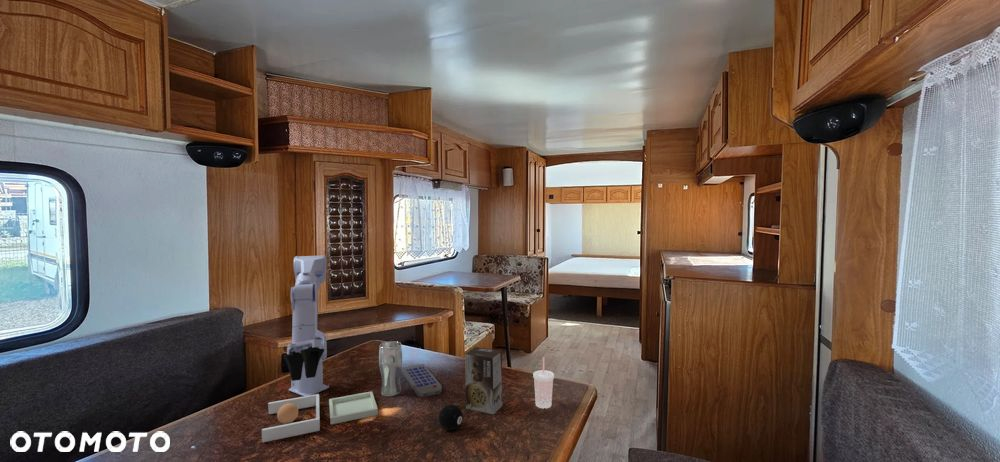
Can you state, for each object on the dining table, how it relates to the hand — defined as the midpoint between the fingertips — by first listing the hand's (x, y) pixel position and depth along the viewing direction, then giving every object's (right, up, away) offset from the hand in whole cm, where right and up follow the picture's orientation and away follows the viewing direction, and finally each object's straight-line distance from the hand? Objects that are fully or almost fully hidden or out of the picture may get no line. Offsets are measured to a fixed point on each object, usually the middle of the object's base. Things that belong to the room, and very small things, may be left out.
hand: (303, 379), depth 106 cm
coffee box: (+48, -11, +8) cm, 50 cm away
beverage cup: (+65, -11, +10) cm, 67 cm away
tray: (+11, -11, +7) cm, 17 cm away
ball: (-4, -12, 0) cm, 12 cm away
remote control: (+26, -11, +26) cm, 39 cm away
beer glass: (+18, -11, +18) cm, 28 cm away
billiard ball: (+40, -12, -3) cm, 41 cm away
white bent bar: (-3, -12, +1) cm, 12 cm away
